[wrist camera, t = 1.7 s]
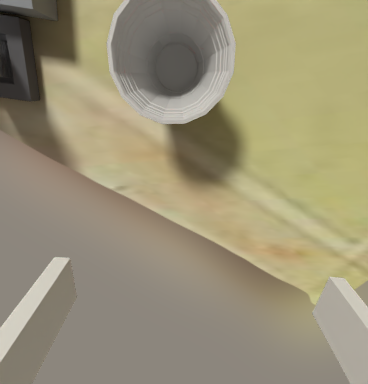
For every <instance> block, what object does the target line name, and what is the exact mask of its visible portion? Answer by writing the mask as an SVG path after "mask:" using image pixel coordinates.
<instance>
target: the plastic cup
mask: <svg viewBox="0 0 368 384" xmlns="http://www.w3.org/2000/svg"><path fill="white" fill-rule="evenodd" d="M235 44H236V43H235V40H234V36H233V33H232V29H231V26H230V22H229V19H228V15H227V14H226V12H225V11H224V10H223V8H222V7H221V6H220V4H219V3H218V2H217V1H216V0H124V1H123V2H122V4H121V5H120V7H119V8H118V9H117V11H116V12H115V13H114V15H113V19H112V23H111V27H110V31H109V36H108V40H107V52H108V61H109V70H110V74H111V76H112V78H113V80H114V82H115V84H116V86H117V88H118V91H119V93H120V95H121V97H122V98H123V99H124V100H125V101H126V102H127V103H128V104H129V105H130V106H131V107H132V108H133V109H134V110H135V111H136V112H138V113H139V114H140V115H141V116H144V117H146V118H149V119H151V120H153V121H156V122H158V123H161V124H185V123H188V122H190V121H192V120H194V119H197V118H199V117H201V116H203V115H206V114H207V113H208V112H209V111H210V110H211V109H212V108H213V107H214V106H215V105H216V103H217V102H218V101H219V100H220V99H221V98H222V97H223V96H224V93H225V91H226V89H227V86H228V84H229V82H230V79H231V77H232V75H233V72H234V60H235Z"/></svg>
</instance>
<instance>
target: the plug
mask: <svg viewBox="0 0 368 384" xmlns="http://www.w3.org/2000/svg"><path fill="white" fill-rule="evenodd" d="M0 77H8V78H13V74H12V68H11V62H10V57H9V51H8V45H7V41H3V40H0Z"/></svg>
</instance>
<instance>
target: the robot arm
mask: <svg viewBox="0 0 368 384" xmlns="http://www.w3.org/2000/svg"><path fill="white" fill-rule="evenodd" d="M76 298H77V295H76V289H75V283H74V277H73V271H72V266H71V260H70V258H62V257H54V259H53V260H52V261H51V263H50V264H49V265H48V266H47V268H46V269H45V270H44V272H43V273H42V274H41V275H40V277H39V278H38V279H37V281H36V282H35V283H34V285H33V286H32V287H31V289H30V290H29V291H28V293H27V294H26V295H25V297H24V298H23V299H22V300H21V302H20V303H19V304H18V306H17V307H16V308H15V309H14V311H13V312H12V313H11V315H10V316H9V317H8V319H7V320H6V321H5V323H4V324H3V325H2V326H1V328H0V384H32V383H33V381H34V379H35V377H36V375H37V373H38V371H39V369H40V367H41V365H42V363H43V362H44V359H45V358H46V356H47V354H48V352H49V350H50V348H51V346H52V344H53V342H54V340H55V338H56V336H57V334H58V333H59V331H60V329H61V327H62V325H63V323H64V321H65V319H66V317H67V315H68V313H69V311H70V309H71V307H72V305H73V304H74V302H75V300H76ZM312 314H313V316H314V318H315V320H316V321H317V323H318V325H319V327H320V329H321V331H322V332H323V334H324V336H325V338H326V340H327V342H328V343H329V345H330V347H331V349H332V351H333V353H334V355H335V356H336V358H337V360H338V362H339V364H340V366H341V368H342V369H343V371H344V373H345V375H346V377H347V378H348V380H349V382H350V384H368V307H367V306H366V304H365V303H364V302H363V301H362V299H360V297H359V296H358V295H357V293H356V292H355V291H354V290H353V288H352V287H351V286H350V285H349V283H348V282H347V281H346V280H345V278H337V277H329V279H328V281H327V283H326V285H325V287H324V289H323V291H322V293H321V296H320V298H319V300H318V302H317V304H316V306H315V308H314V310H313V312H312Z"/></svg>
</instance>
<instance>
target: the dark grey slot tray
mask: <svg viewBox="0 0 368 384" xmlns="http://www.w3.org/2000/svg"><path fill="white" fill-rule="evenodd" d="M0 40H3V41H7V45H8V51H9V57H10V62H11V68H12V74H13V78H8V77H0V97H3V98H10V99H17V100H25V101H39V100H40V96H39V89H38V81H37V74H36V67H35V59H34V52H33V44H32V37H31V30H30V22H29V21H27V20H24V19H21V18H19V17H13V16H6V15H0Z"/></svg>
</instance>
